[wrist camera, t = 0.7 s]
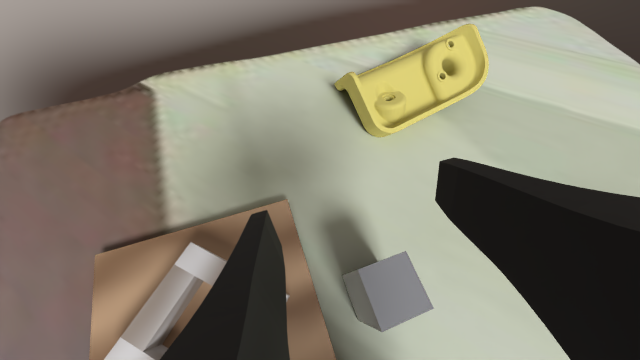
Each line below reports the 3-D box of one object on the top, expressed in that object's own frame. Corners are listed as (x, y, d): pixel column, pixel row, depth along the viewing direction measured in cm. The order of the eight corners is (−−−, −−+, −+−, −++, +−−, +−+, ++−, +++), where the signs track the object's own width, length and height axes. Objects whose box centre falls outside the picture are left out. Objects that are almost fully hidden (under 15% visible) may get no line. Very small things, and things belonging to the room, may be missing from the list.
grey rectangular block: (395, 303, 22) (433, 308, 16) (357, 319, 21) (381, 332, 15) (377, 261, 24) (405, 251, 17) (341, 275, 23) (357, 269, 16)
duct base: (348, 402, 18) (358, 425, 15) (92, 533, 15) (35, 599, 12) (287, 202, 26) (285, 189, 22) (103, 256, 22) (70, 250, 19)
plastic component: (381, 139, 28) (346, 61, 27) (357, 148, 35) (329, 87, 34) (498, 81, 32) (470, 11, 31) (455, 99, 39) (432, 44, 38)
